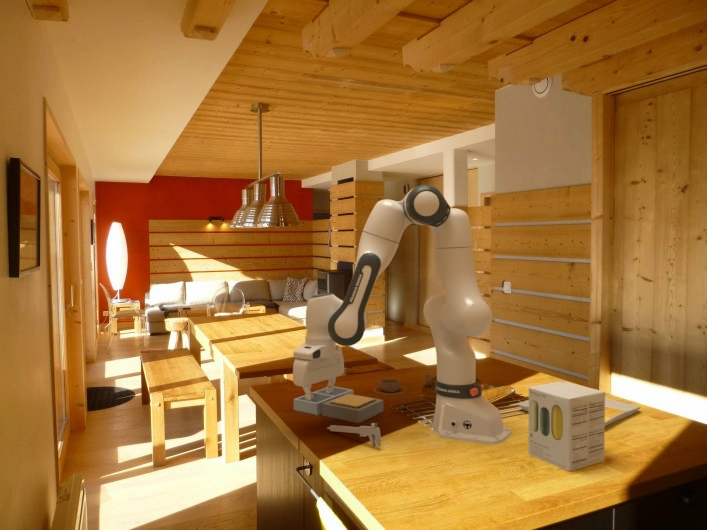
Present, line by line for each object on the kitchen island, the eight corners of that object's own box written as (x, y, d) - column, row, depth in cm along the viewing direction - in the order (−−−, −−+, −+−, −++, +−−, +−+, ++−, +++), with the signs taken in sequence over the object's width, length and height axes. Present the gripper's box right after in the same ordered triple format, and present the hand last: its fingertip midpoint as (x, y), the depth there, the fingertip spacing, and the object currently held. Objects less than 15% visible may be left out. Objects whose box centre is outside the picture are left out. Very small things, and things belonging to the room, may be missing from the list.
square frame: (383, 412, 181) (383, 400, 181) (358, 424, 169) (358, 410, 169) (347, 405, 189) (347, 393, 189) (322, 416, 177) (321, 403, 177)
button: (374, 411, 180) (374, 398, 180) (357, 419, 172) (357, 406, 172) (349, 406, 186) (349, 394, 186) (330, 413, 178) (330, 401, 178)
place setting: (380, 386, 215) (380, 371, 215) (432, 390, 210) (432, 374, 209) (368, 399, 199) (367, 382, 198) (424, 403, 193) (424, 386, 193)
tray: (331, 397, 199) (330, 385, 199) (353, 401, 194) (353, 389, 193) (293, 411, 183) (293, 399, 182) (317, 416, 177) (316, 403, 177)
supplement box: (526, 454, 145) (526, 386, 144) (562, 445, 151) (562, 380, 150) (569, 472, 133) (569, 398, 132) (605, 461, 139) (606, 391, 139)
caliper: (380, 447, 149) (381, 424, 148) (378, 448, 148) (378, 425, 148) (329, 428, 163) (329, 407, 163) (326, 429, 163) (326, 408, 162)
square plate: (601, 436, 158) (601, 423, 158) (515, 414, 179) (515, 402, 179) (641, 416, 176) (641, 404, 176) (559, 398, 197) (559, 387, 197)
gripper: (332, 343, 175) (332, 387, 176) (289, 352, 158) (288, 401, 159) (349, 345, 172) (348, 390, 172) (306, 355, 155) (306, 405, 155)
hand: (319, 395), depth 165 cm, fingers open, 8 cm apart
